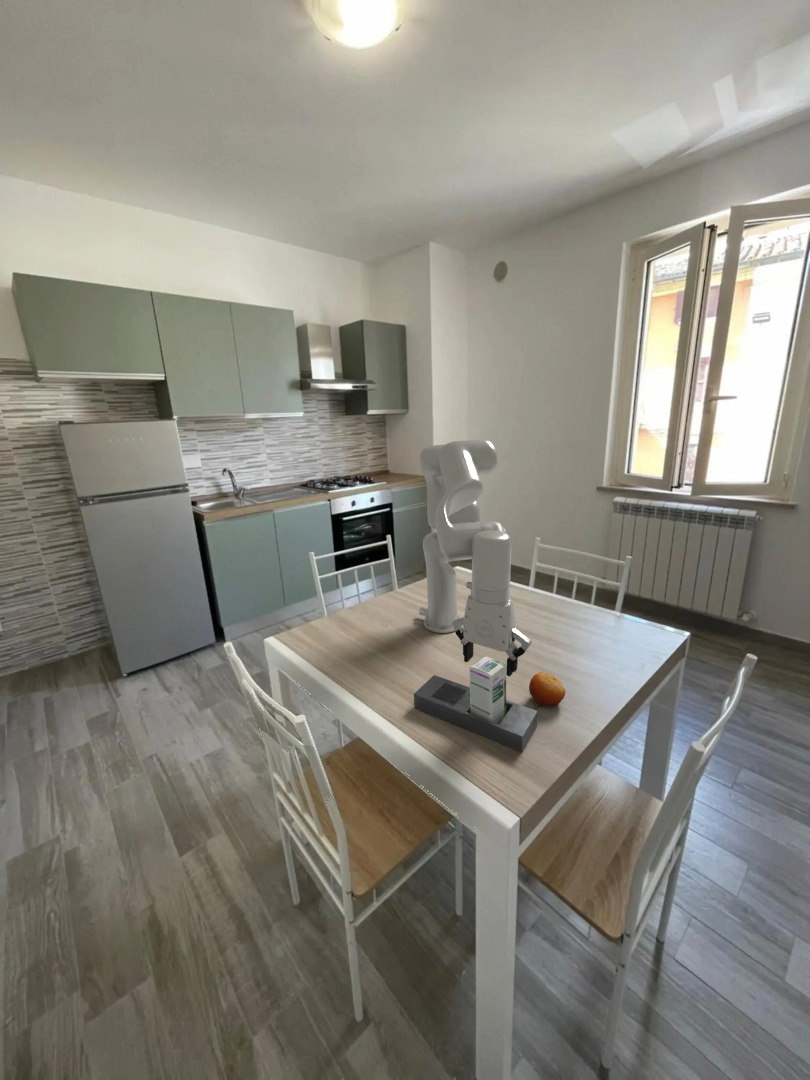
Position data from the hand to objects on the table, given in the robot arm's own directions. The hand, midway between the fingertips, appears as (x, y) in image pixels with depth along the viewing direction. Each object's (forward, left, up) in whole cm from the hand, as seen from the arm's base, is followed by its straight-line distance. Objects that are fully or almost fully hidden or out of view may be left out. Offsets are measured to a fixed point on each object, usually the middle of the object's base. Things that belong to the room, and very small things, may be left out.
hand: (489, 665), depth 90 cm
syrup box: (0, 0, -14) cm, 14 cm away
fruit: (+8, +13, -14) cm, 21 cm away
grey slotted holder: (-4, -1, -14) cm, 15 cm away
